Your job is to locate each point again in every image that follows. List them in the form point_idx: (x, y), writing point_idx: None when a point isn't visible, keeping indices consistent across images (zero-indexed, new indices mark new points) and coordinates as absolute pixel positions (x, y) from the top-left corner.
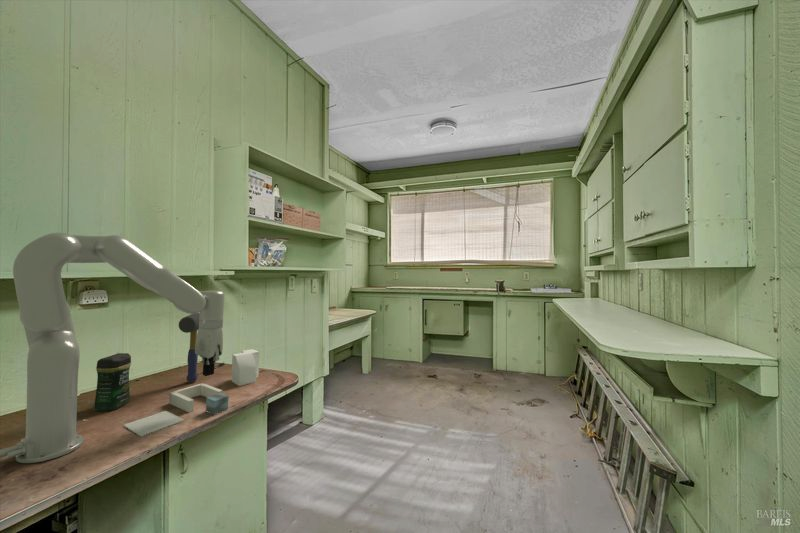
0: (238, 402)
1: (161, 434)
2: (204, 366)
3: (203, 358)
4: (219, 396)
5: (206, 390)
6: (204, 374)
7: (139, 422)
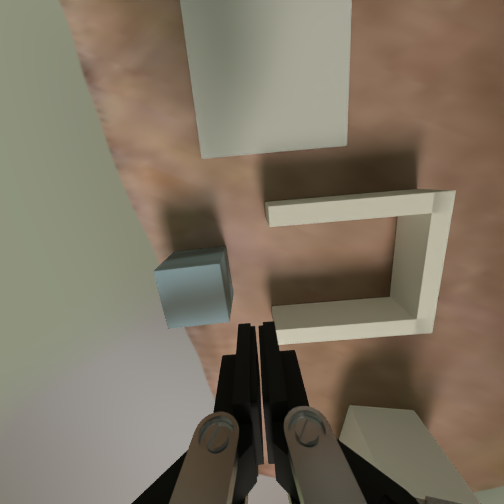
0: (214, 343)
1: (143, 47)
2: (263, 385)
3: (326, 499)
4: (190, 303)
5: (362, 314)
6: (247, 327)
7: (318, 16)
